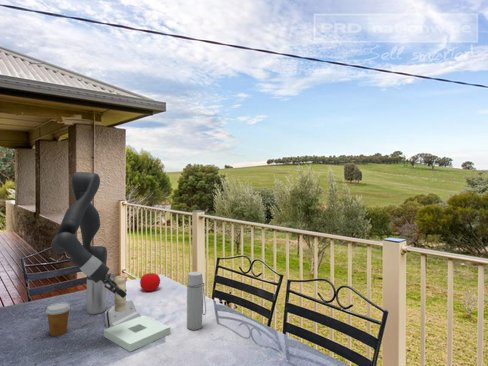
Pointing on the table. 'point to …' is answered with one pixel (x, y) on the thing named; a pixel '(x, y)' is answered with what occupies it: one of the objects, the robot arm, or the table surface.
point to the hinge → (120, 315)
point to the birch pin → (119, 301)
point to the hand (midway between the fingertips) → (124, 294)
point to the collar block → (130, 339)
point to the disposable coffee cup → (58, 318)
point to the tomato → (149, 282)
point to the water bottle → (195, 300)
